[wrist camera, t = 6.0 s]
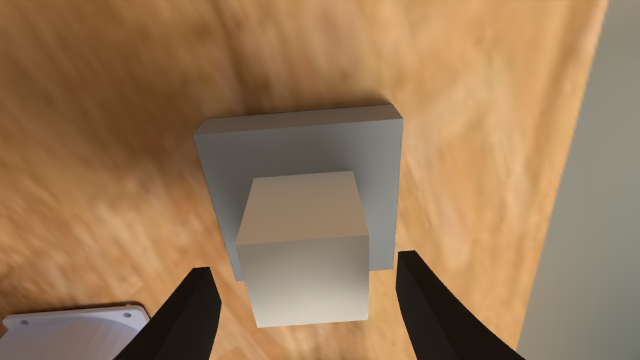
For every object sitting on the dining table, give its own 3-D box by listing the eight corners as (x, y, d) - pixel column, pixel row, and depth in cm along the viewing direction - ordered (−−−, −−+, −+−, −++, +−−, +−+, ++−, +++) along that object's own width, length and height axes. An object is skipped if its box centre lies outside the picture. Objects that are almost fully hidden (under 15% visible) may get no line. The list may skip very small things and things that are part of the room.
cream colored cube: (268, 251, 17) (257, 327, 13) (253, 178, 15) (234, 245, 11) (354, 244, 17) (367, 319, 13) (353, 170, 15) (369, 234, 11)
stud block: (242, 255, 20) (228, 311, 16) (205, 118, 15) (175, 156, 12) (385, 244, 20) (402, 298, 16) (392, 103, 15) (417, 137, 12)
